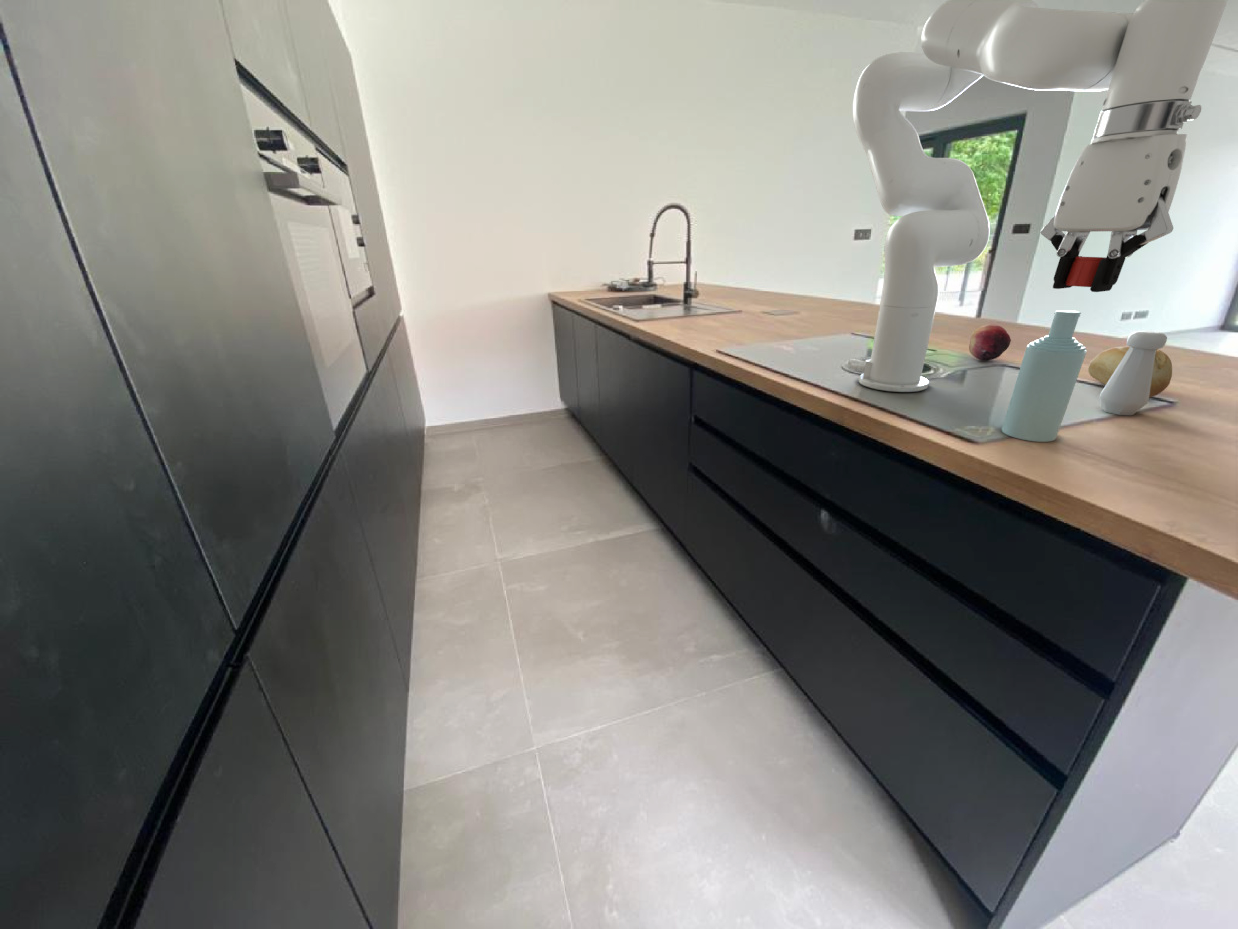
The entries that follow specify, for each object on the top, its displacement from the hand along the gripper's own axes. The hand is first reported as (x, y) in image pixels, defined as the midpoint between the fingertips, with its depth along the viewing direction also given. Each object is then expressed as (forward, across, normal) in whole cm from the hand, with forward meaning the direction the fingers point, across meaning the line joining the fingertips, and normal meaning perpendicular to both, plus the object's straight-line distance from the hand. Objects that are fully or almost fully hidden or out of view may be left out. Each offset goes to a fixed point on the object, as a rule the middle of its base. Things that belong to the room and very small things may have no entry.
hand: (1081, 287), depth 67 cm
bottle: (+21, 0, 0) cm, 21 cm away
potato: (+21, +8, -37) cm, 43 cm away
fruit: (+22, +35, -37) cm, 55 cm away
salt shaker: (+21, +1, -22) cm, 31 cm away
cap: (0, 0, 0) cm, 0 cm away
